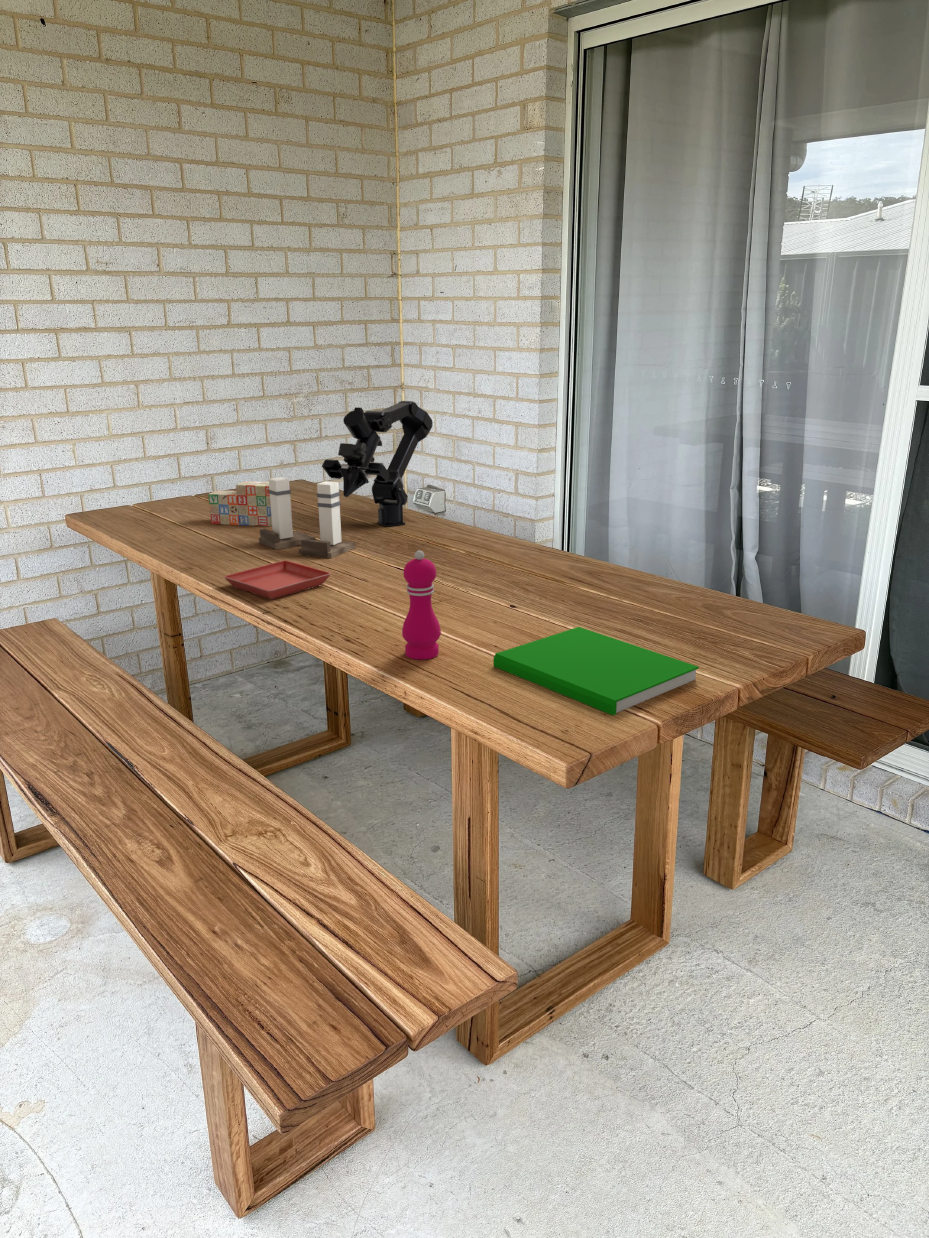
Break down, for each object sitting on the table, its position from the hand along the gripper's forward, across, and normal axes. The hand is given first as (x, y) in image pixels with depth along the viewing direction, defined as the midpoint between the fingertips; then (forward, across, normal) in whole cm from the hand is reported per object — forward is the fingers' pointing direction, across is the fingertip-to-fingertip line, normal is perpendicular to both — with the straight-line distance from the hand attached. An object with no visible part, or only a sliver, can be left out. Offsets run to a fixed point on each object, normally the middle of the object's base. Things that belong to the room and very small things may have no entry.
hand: (345, 496), depth 254 cm
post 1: (+14, -16, +2) cm, 21 cm away
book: (+55, +91, -36) cm, 113 cm away
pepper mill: (+58, +59, -39) cm, 91 cm away
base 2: (+16, 0, +2) cm, 17 cm away
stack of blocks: (+3, -41, +16) cm, 44 cm away
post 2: (+14, 0, +2) cm, 14 cm away
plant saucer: (+40, +7, -20) cm, 45 cm away
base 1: (+14, -15, +4) cm, 21 cm away
